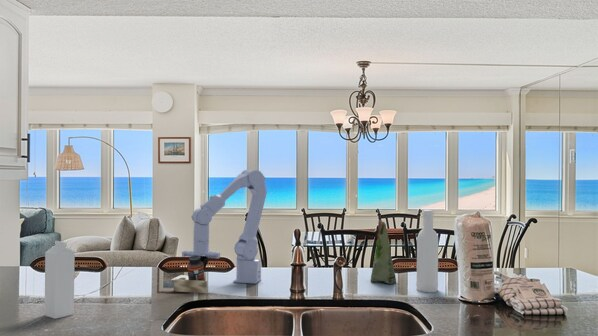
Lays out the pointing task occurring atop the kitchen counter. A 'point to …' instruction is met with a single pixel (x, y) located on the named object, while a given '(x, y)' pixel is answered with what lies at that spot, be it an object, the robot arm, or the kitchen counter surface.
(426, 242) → the bottle
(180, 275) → the mat
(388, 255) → the pouch
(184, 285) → the corner holder
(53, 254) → the milk
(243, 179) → the robot arm
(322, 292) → the kitchen counter surface
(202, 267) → the supplement bottle
